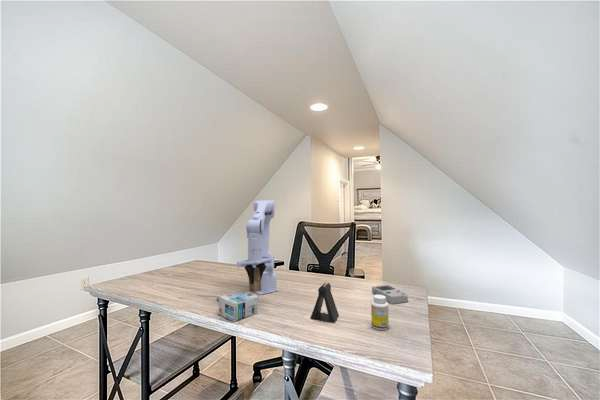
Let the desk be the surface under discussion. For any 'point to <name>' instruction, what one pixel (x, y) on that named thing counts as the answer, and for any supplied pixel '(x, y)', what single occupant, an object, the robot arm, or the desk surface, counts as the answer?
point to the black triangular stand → (330, 305)
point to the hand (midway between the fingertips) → (255, 283)
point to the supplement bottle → (380, 312)
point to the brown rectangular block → (256, 281)
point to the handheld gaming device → (390, 294)
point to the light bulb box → (238, 305)
